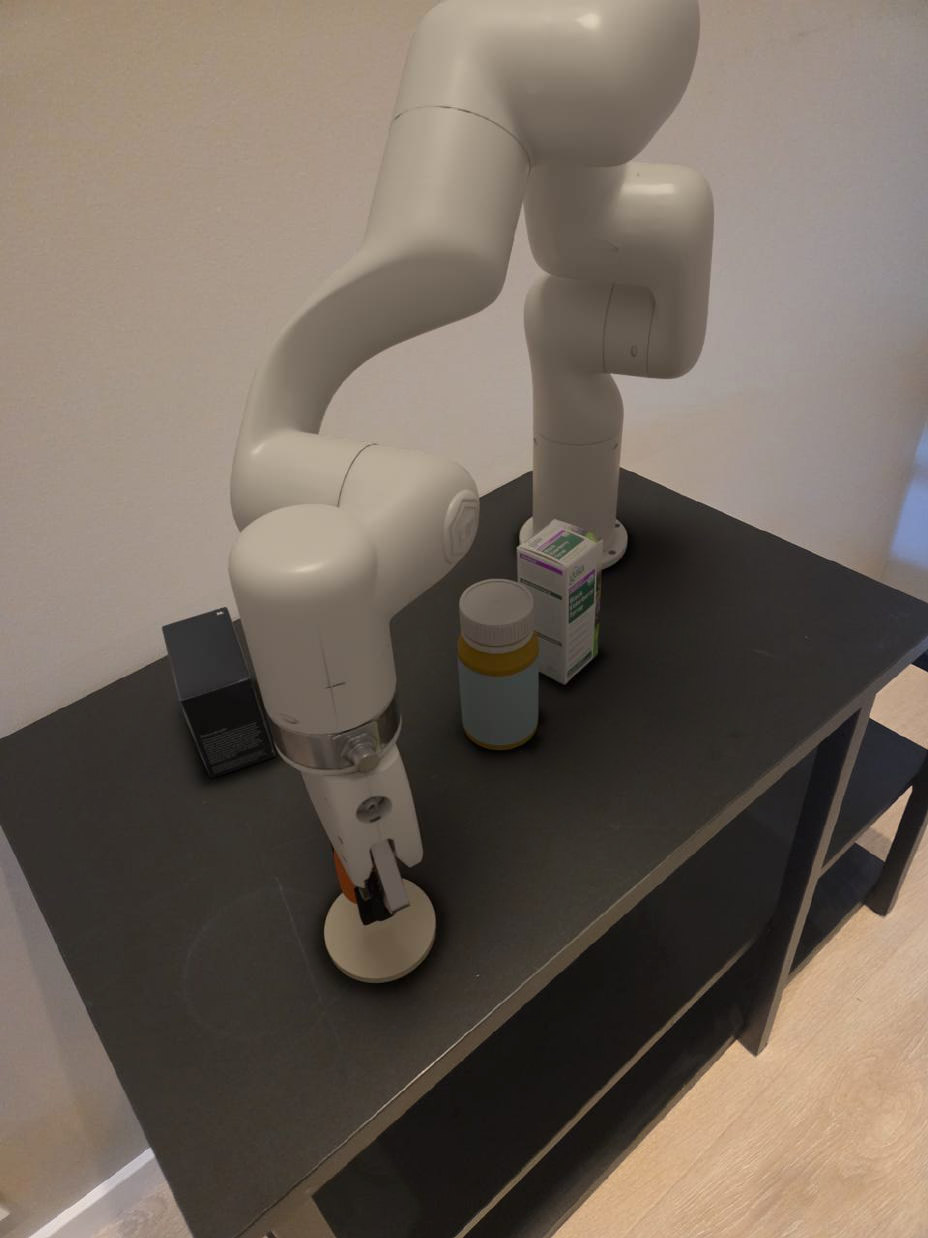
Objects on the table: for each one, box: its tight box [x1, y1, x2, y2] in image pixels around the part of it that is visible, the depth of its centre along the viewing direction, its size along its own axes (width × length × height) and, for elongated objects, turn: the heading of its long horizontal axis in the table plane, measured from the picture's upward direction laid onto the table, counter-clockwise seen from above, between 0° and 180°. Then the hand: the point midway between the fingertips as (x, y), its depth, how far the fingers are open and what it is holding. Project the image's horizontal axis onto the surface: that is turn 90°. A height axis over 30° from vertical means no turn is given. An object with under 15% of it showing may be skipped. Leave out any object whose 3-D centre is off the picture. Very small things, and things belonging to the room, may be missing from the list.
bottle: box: [456, 578, 540, 751], centre depth 76 cm, size 7×7×15 cm
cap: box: [333, 849, 375, 904], centre depth 60 cm, size 4×4×4 cm
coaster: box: [323, 877, 437, 984], centre depth 65 cm, size 8×8×1 cm
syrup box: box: [516, 519, 603, 685], centre depth 83 cm, size 6×6×14 cm
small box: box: [161, 606, 276, 779], centre depth 79 cm, size 11×6×10 cm, turn 23°
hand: (370, 887), depth 62 cm, fingers closed on cap, 3 cm apart
